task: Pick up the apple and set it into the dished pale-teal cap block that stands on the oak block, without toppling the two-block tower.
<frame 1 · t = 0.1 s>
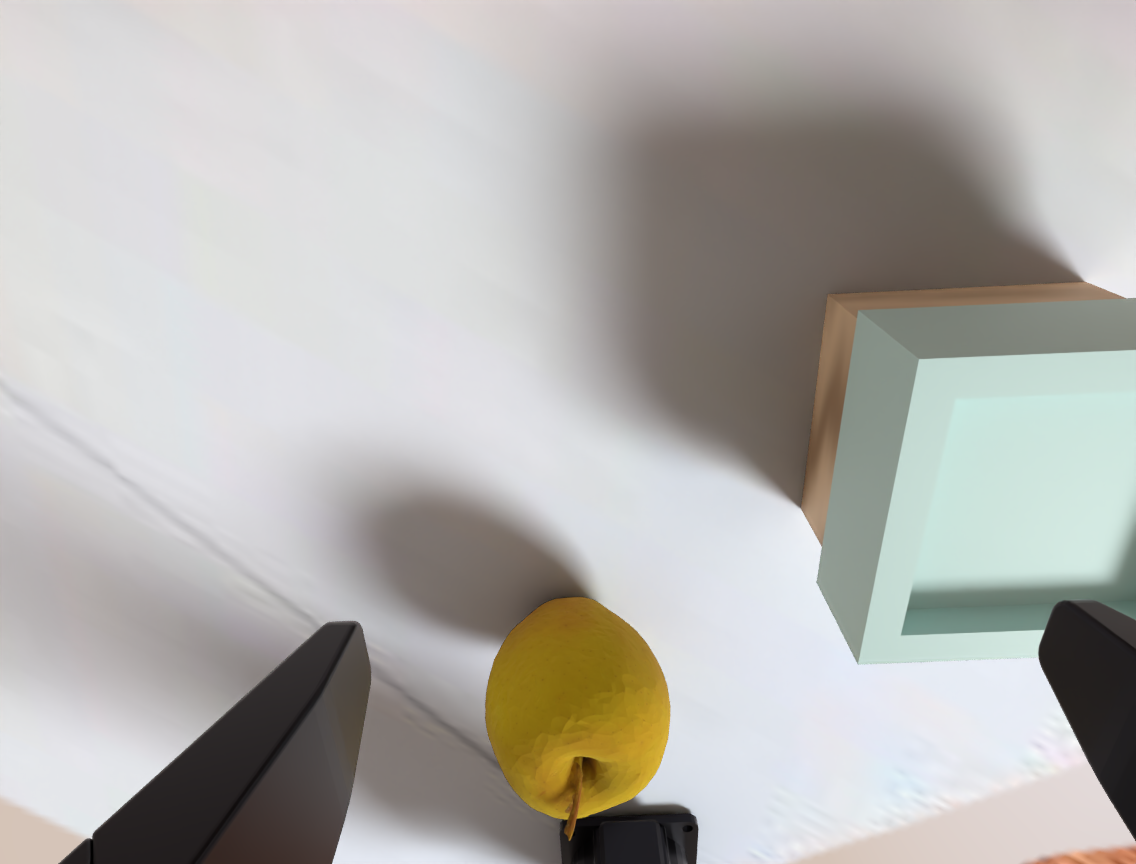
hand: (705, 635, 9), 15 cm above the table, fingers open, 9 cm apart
teal cap block: (990, 453, 20), point 4 cm above the table
apple: (574, 620, 28), on the table
oak block: (928, 400, 24), on the table
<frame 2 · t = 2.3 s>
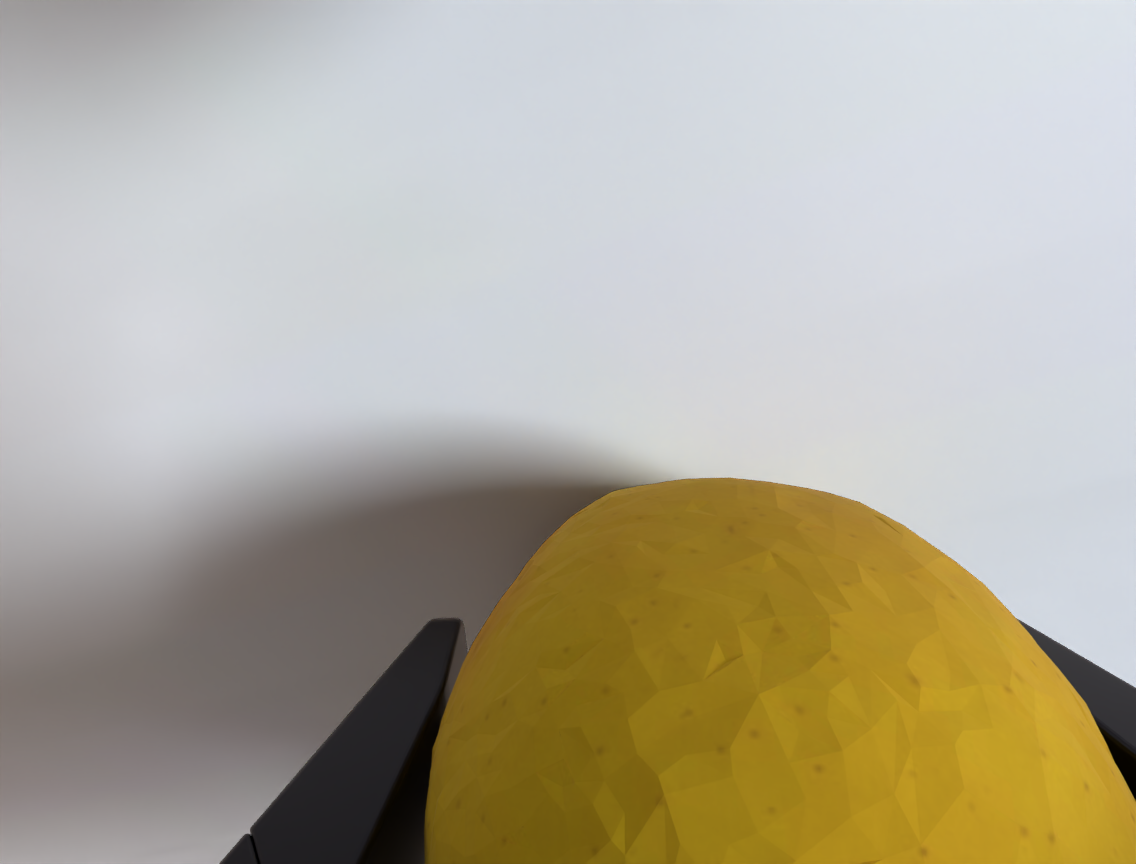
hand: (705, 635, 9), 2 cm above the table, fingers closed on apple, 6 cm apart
apple: (682, 550, 11), on the table, touching gripper
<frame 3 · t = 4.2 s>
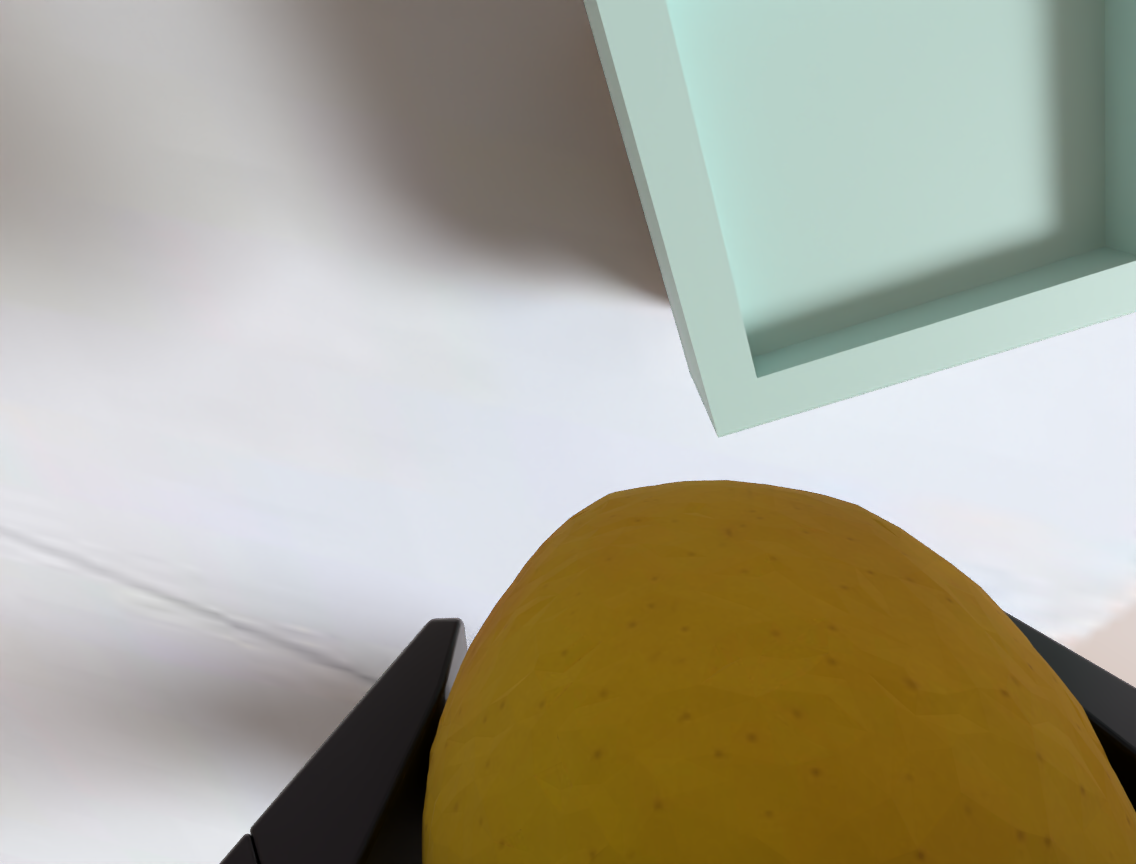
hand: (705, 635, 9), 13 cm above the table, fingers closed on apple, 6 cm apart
teal cap block: (845, 115, 15), point 4 cm above the table, touching oak block
apple: (680, 551, 11), point 11 cm above the table, touching gripper
when the fingers open (10 cm above the table, at t = 5.6 s): apple drops 2 cm, resting on teal cap block.
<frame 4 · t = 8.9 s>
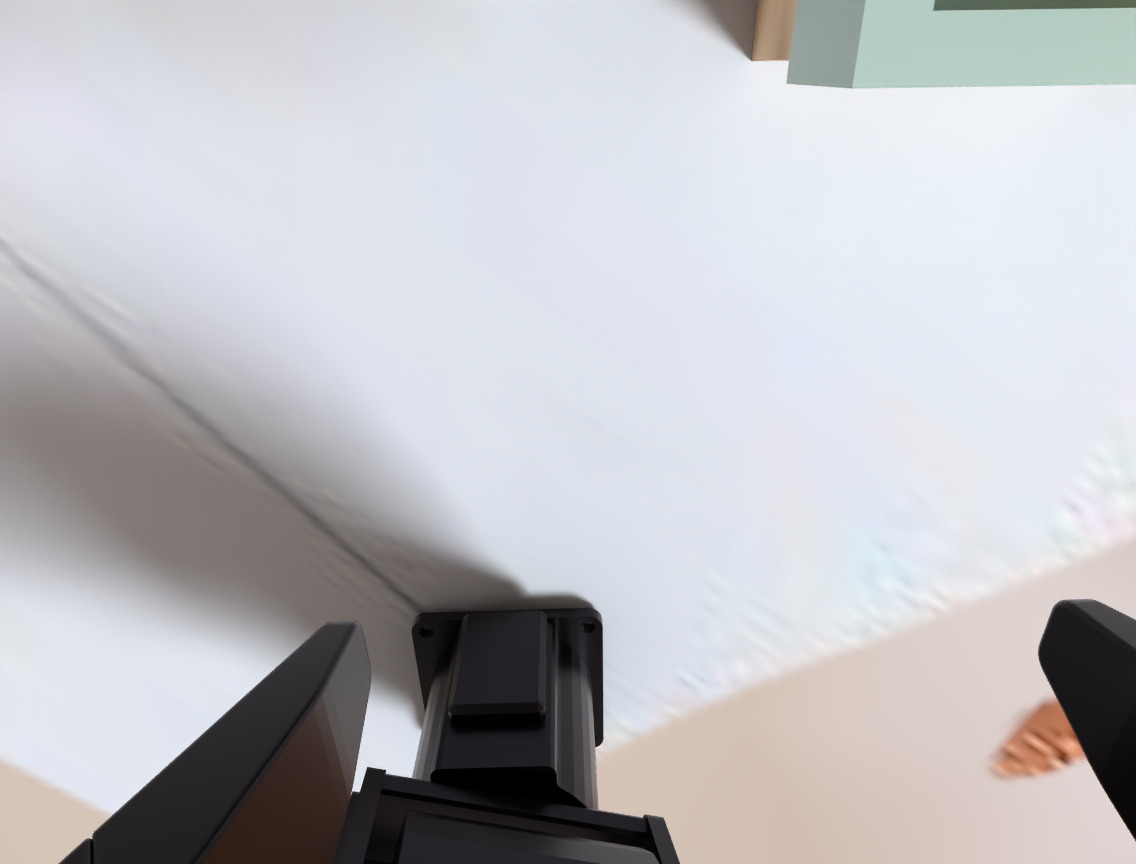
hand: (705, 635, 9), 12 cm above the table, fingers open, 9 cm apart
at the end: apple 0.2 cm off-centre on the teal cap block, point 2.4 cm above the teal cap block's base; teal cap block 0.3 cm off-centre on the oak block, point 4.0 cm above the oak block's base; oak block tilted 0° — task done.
